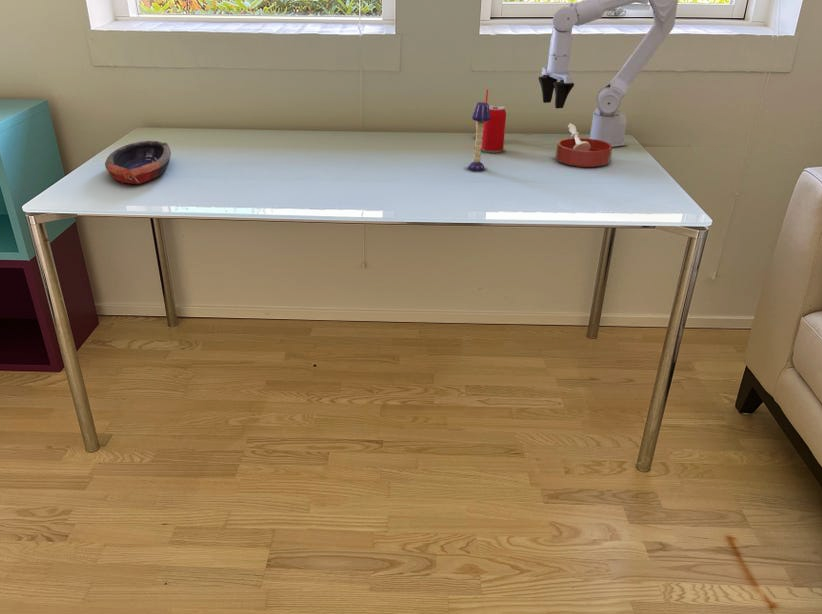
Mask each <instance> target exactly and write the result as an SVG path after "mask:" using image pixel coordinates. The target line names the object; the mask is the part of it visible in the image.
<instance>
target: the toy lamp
mask: <svg viewBox="0 0 822 614" xmlns="http://www.w3.org/2000/svg"><path fill="white" fill-rule="evenodd" d="M471 119H472V121H475V122H476V121H477V128H476V127H475V131H476V130H477V133H476V132H475V139H474V140H475V141H474V143H475V144H474V154H473V155H474V157H473V161H472V162H470V163H469V165H468V167H467V168H468V170H469V171H471V172H482V171H484V170H485V165H484V164H483V162H481V156H482V137H483V133H482V132H483V125H484V121H489V120H490V111H489V102H487V103H486V101H485V102H484V101H479V102H477V103H476V104H475V107H474V110H473V113H472V117H471Z"/></svg>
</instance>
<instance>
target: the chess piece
mask: <svg viewBox="0 0 822 614" xmlns="http://www.w3.org/2000/svg"><path fill="white" fill-rule="evenodd" d="M567 128H568V132H569V133H570V134H571V138H575V142H576V145H575V146H574V147H573V150H580V151H589V150H590V148H591V146H590V144H589V143H588V142H586V141H583V142H581V140H580V139H579V138H580V137H579V136H580V132H578V131H577V127H576V126H575V124H572V122H570V123H568V125H567Z"/></svg>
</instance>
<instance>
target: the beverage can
mask: <svg viewBox="0 0 822 614" xmlns="http://www.w3.org/2000/svg"><path fill="white" fill-rule="evenodd" d="M488 105H489V104H488ZM505 108H506V107H505V106H504V105H499V104H498V105H497V104H491V105H489V111H490V120H489V121H484V125H483V132H482V133H483V137H482V144H481V145H482V149H481V151H483V152H484V153H488V154H497V153H500V152H501V151H503V150H504V146H505V132H506V120H507V111H506V109H505Z"/></svg>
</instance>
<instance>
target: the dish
mask: <svg viewBox="0 0 822 614" xmlns="http://www.w3.org/2000/svg"><path fill="white" fill-rule="evenodd" d="M171 156H172V151H171V148H170V146H169V144H168V142H166V141H164V142H162V141H158V140H144V141H143V140H142V141H137V142H132V143H129V144H126V145H124V146H121V147H119V148H117V149H115V150H114V151H112V152H111V153H110V154H109V155H108V156H107V157H106V159H105V162H104V166H105V167H104V168H105V169H106V171H107V172H108V173H109V175H110V177H112V179H114V180H115V181H118V182H121V183H122V184H123V183H125V184H132V185H133V184H134V185H139V184H140V185H141V184H143V183H146V182H148V181H151V180H154V179H157V178H158V177H159V176H161V175H162V174H163V173H164V172H165V171H166V170H167V169H168V166H169V163H170V160H171Z"/></svg>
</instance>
